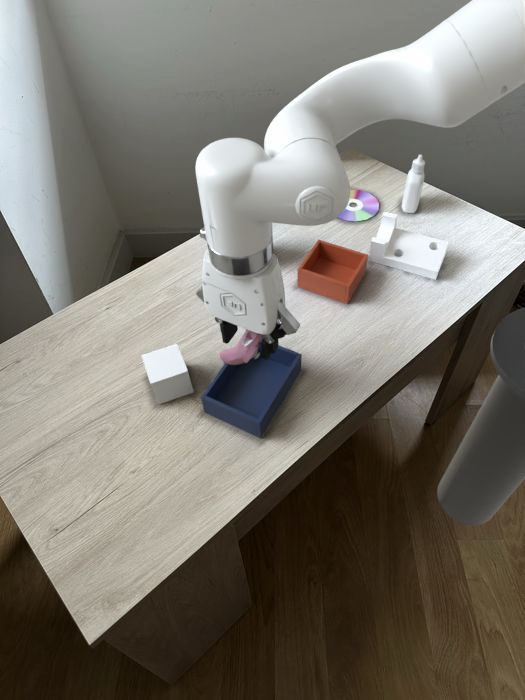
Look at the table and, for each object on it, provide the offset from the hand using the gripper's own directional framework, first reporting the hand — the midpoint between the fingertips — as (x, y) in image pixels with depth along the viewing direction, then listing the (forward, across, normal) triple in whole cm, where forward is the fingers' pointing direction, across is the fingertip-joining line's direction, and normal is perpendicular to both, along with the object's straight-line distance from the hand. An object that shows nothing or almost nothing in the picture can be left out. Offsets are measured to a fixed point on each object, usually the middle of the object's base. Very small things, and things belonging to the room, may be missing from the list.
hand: (249, 343), depth 75 cm
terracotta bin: (+12, +1, +29) cm, 31 cm away
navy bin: (+12, 0, 0) cm, 12 cm away
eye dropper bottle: (+13, +7, +57) cm, 59 cm away
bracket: (+13, +12, +40) cm, 44 cm away
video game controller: (+1, 0, 0) cm, 1 cm away
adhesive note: (+13, -13, -5) cm, 19 cm away
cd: (+12, -4, +52) cm, 54 cm away
